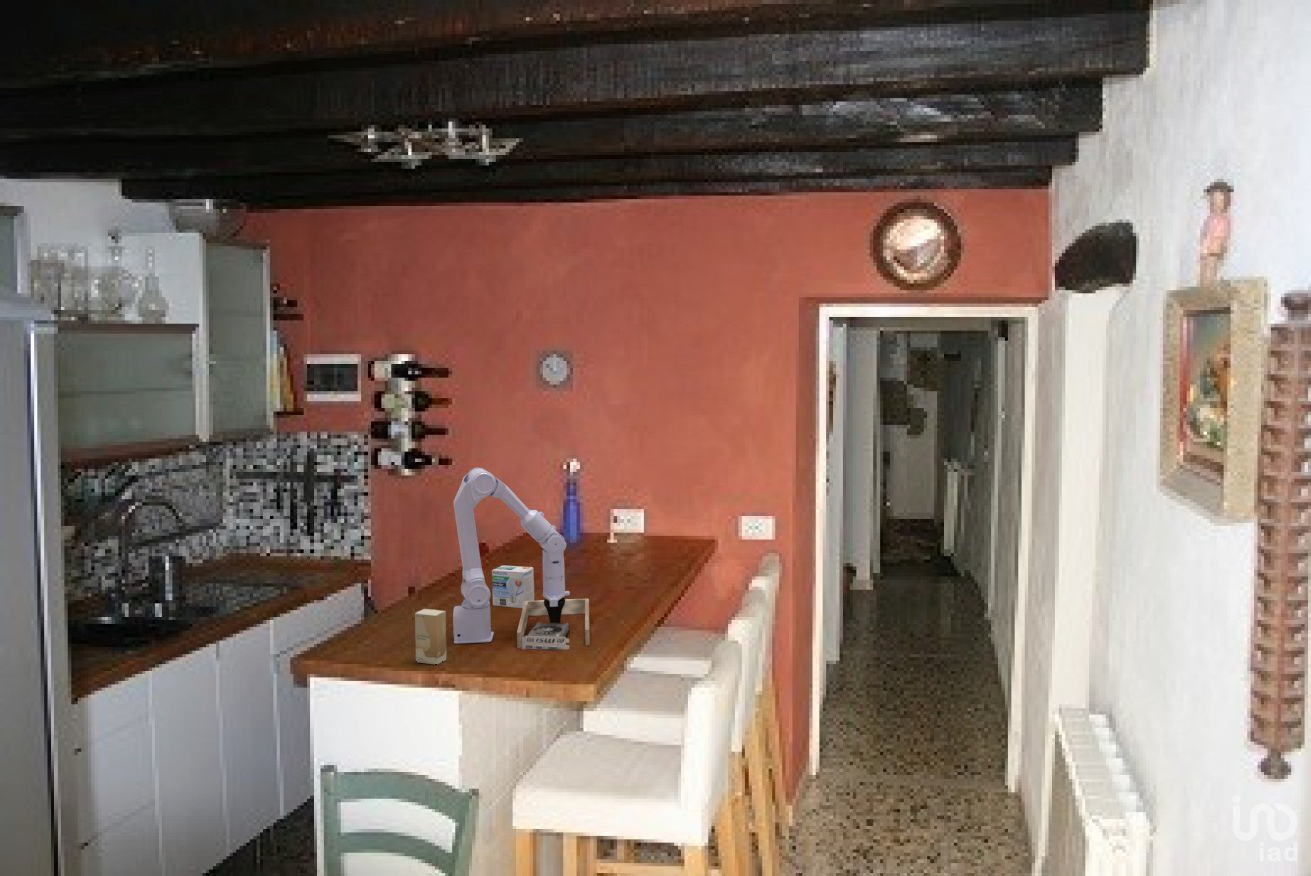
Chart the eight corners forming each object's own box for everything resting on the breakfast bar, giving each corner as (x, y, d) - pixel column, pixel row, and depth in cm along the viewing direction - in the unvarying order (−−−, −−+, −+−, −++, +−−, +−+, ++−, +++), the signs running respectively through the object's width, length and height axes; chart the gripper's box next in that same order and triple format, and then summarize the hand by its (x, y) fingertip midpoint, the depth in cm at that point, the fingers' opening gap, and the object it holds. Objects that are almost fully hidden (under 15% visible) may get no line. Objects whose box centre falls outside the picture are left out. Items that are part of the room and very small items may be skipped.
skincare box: (415, 662, 235) (413, 612, 234) (425, 657, 239) (423, 608, 238) (438, 665, 233) (436, 614, 232) (448, 659, 237) (446, 610, 236)
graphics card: (568, 638, 242) (520, 637, 243) (568, 653, 242) (520, 651, 243) (580, 620, 258) (535, 619, 259) (580, 634, 259) (535, 633, 260)
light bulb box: (492, 605, 286) (490, 569, 285) (503, 600, 293) (502, 564, 292) (524, 608, 283) (523, 571, 282) (535, 602, 289) (534, 566, 288)
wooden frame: (517, 648, 245) (516, 632, 244) (524, 614, 275) (524, 601, 275) (589, 645, 246) (589, 629, 246) (589, 612, 277) (588, 598, 276)
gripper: (568, 581, 252) (570, 633, 253) (569, 569, 266) (570, 618, 268) (541, 583, 251) (542, 634, 253) (543, 570, 266) (544, 619, 267)
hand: (555, 626), depth 260 cm, fingers closed
